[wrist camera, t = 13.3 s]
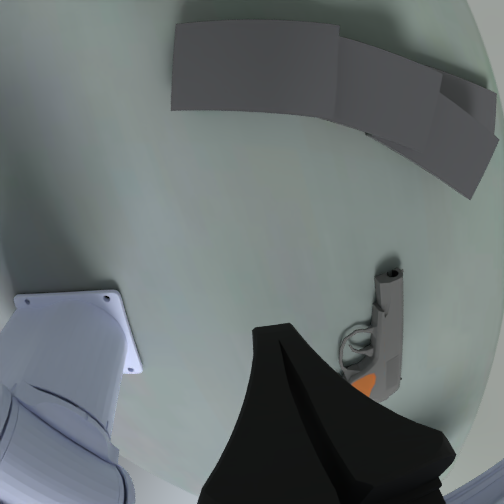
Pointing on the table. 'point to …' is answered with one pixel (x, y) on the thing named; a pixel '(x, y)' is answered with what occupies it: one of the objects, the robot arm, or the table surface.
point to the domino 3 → (452, 148)
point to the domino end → (470, 98)
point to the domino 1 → (256, 67)
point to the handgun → (380, 342)
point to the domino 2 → (385, 94)
